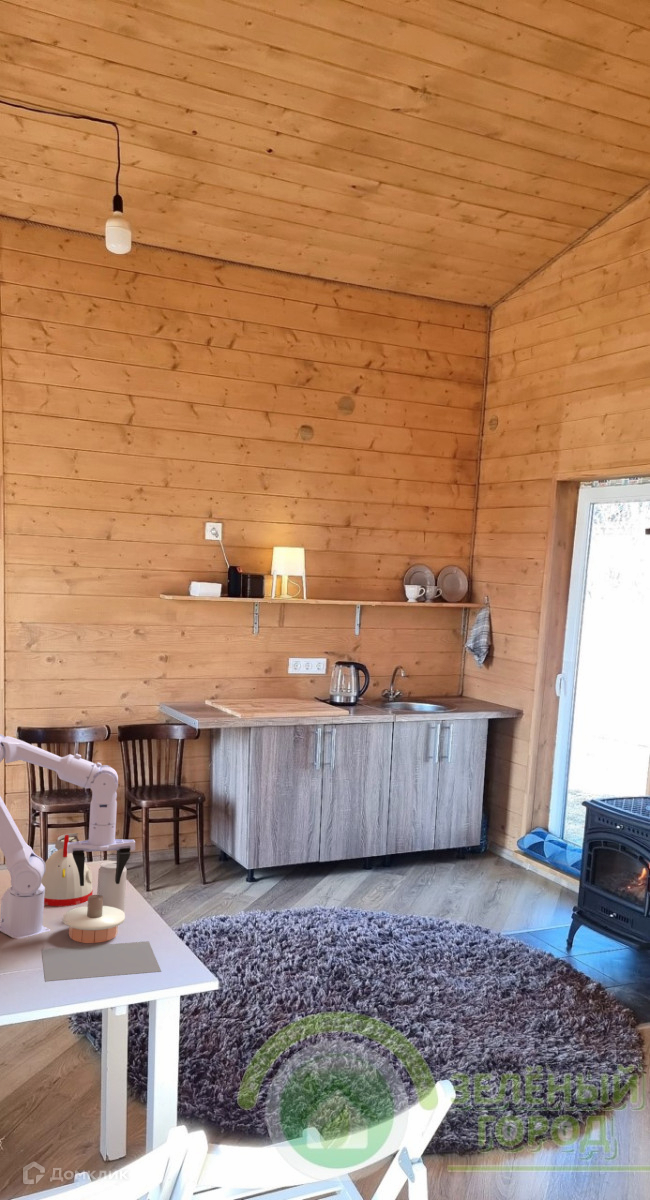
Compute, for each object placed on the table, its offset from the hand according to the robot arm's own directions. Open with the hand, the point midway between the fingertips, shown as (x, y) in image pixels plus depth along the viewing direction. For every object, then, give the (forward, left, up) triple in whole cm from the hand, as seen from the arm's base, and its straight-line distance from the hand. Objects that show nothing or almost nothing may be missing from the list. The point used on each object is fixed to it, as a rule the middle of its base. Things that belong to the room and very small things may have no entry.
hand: (99, 883), depth 197 cm
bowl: (+2, -3, -11) cm, 11 cm away
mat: (+15, -10, -10) cm, 21 cm away
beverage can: (-6, +8, -11) cm, 15 cm away
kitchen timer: (-24, +7, -11) cm, 27 cm away
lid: (+3, -3, -7) cm, 8 cm away
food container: (-37, +16, -11) cm, 42 cm away
